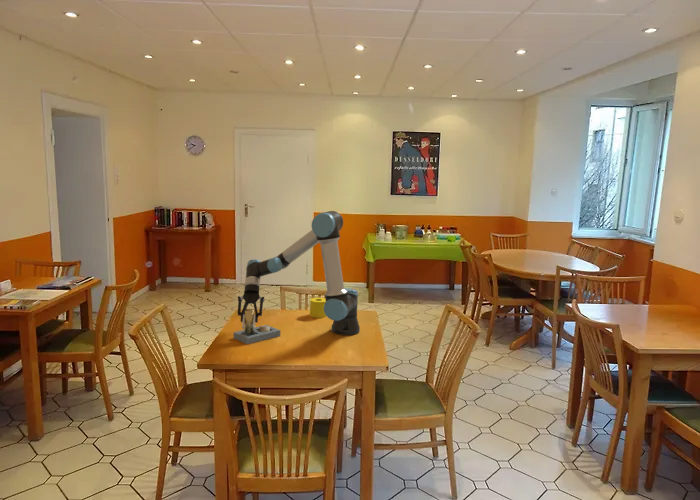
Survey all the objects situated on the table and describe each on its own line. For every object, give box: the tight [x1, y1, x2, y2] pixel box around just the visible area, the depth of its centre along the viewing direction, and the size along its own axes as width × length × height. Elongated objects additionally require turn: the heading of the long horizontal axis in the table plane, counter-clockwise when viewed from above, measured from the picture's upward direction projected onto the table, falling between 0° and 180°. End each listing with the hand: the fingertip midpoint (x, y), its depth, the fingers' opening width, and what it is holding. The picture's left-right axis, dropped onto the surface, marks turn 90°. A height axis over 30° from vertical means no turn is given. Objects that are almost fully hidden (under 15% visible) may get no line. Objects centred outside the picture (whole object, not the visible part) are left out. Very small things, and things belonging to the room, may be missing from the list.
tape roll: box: [309, 297, 328, 319], centre depth 297 cm, size 10×10×9 cm
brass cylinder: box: [244, 308, 255, 333], centre depth 251 cm, size 4×4×11 cm
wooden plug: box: [258, 324, 270, 332], centre depth 259 cm, size 5×5×4 cm
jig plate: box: [232, 324, 281, 345], centre depth 256 cm, size 12×20×3 cm, turn 135°
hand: (248, 327), depth 248 cm, fingers closed on brass cylinder, 4 cm apart
